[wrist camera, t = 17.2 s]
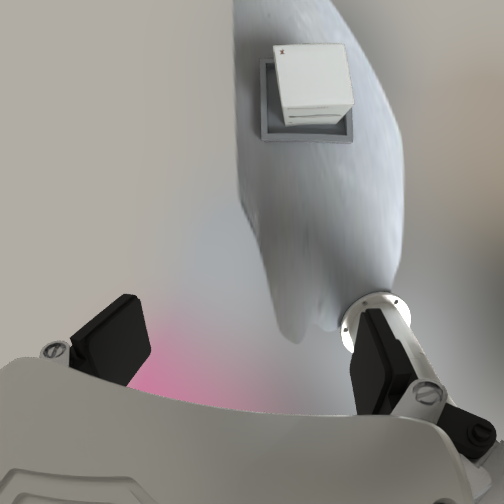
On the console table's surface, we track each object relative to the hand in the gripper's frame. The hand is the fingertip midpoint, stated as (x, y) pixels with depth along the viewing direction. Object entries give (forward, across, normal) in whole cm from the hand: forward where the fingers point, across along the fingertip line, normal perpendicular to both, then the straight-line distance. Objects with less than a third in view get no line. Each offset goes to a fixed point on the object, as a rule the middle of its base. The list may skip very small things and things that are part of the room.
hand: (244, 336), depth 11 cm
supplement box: (+30, -4, -16) cm, 34 cm away
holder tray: (+30, -4, -17) cm, 35 cm away
